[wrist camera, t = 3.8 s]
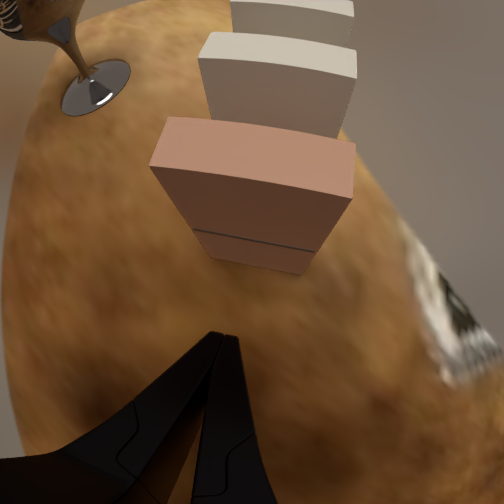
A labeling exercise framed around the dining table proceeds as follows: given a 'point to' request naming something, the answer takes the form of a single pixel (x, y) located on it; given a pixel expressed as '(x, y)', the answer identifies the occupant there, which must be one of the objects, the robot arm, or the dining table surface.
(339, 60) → the domino
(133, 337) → the dining table surface
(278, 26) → the domino
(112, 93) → the wine glass
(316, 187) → the domino
